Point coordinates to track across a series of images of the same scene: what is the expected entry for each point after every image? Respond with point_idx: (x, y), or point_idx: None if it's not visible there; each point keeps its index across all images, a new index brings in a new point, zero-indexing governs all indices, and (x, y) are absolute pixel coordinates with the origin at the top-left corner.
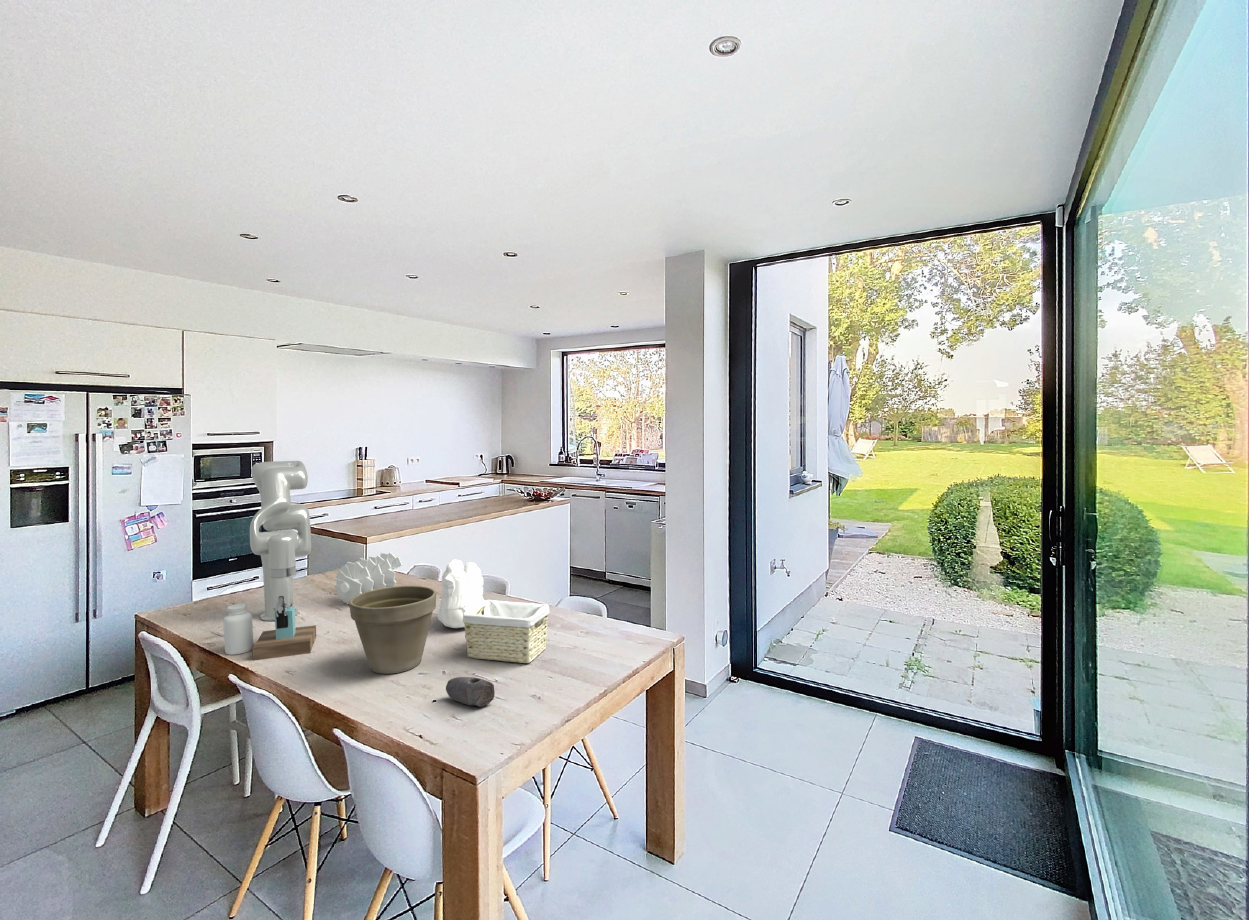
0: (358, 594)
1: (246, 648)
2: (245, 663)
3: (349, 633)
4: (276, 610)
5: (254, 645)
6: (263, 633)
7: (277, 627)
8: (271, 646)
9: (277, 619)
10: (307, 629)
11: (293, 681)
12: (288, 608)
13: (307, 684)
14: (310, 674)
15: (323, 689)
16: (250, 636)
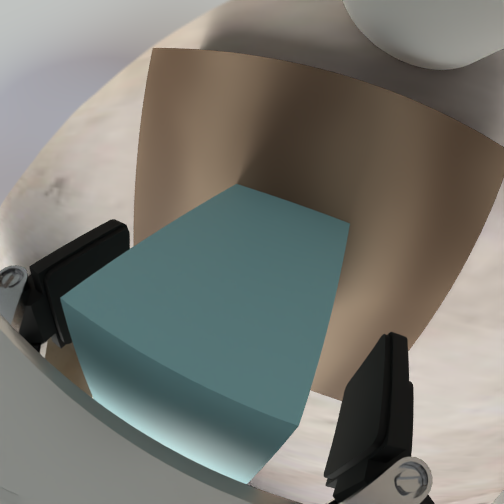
0: (502, 501)
1: (350, 16)
2: (179, 29)
3: (305, 424)
4: (136, 357)
5: (189, 51)
6: (457, 136)
7: (110, 225)
8: (140, 147)
9: (53, 260)
10: (319, 368)
11: (24, 191)
12: (177, 446)
13: (15, 213)
14: (41, 230)
15: (6, 232)
16: (378, 21)
